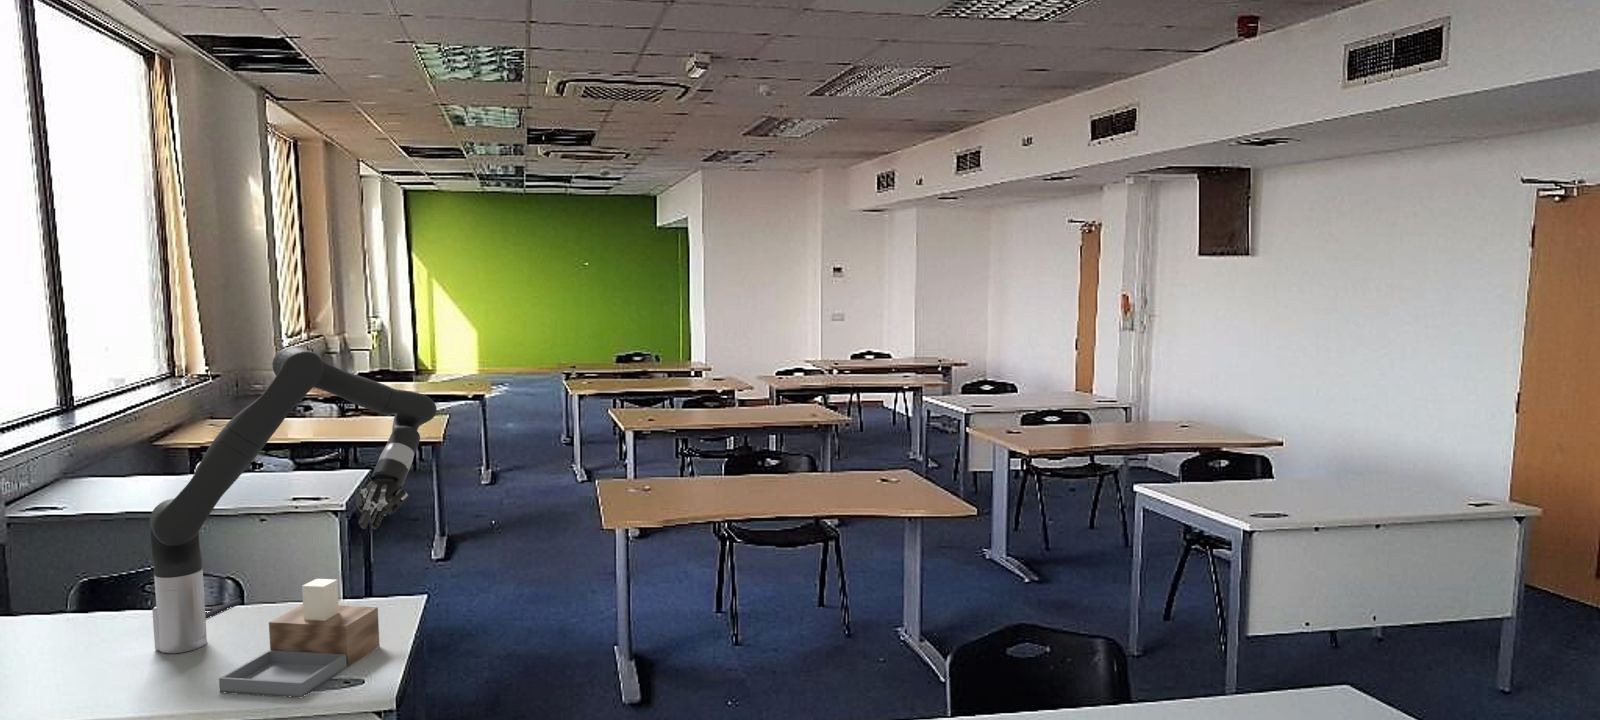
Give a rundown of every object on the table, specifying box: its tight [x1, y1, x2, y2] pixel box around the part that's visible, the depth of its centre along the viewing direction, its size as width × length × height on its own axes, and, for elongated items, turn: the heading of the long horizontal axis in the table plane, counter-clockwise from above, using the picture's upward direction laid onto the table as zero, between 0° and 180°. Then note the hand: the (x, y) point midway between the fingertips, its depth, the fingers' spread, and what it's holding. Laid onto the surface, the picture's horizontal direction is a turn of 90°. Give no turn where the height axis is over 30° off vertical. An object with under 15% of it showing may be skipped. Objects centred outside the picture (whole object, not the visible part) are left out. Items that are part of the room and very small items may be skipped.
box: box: [218, 649, 348, 698], centre depth 209 cm, size 18×15×3 cm
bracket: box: [205, 598, 243, 619], centre depth 251 cm, size 14×15×3 cm
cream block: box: [301, 578, 339, 621], centre depth 220 cm, size 5×5×8 cm
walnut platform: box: [268, 604, 380, 668], centre depth 222 cm, size 18×12×9 cm, turn 82°
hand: (367, 526), depth 238 cm, fingers closed
